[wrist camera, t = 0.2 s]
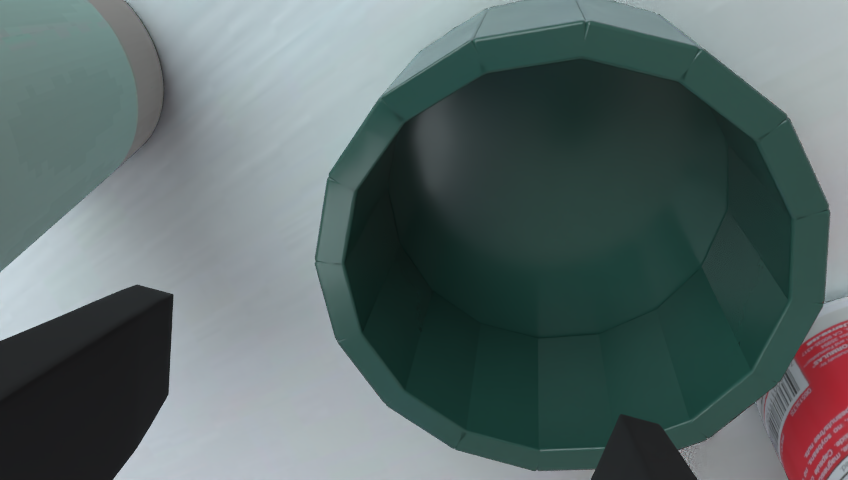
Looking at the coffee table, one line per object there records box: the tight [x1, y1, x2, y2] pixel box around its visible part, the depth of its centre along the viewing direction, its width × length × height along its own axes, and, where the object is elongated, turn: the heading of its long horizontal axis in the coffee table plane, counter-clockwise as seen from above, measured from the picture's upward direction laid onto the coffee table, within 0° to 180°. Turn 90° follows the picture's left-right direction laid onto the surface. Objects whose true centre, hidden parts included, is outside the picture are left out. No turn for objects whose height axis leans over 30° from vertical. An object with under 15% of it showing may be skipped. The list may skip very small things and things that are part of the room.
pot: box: [315, 0, 830, 471], centre depth 17 cm, size 11×11×5 cm
